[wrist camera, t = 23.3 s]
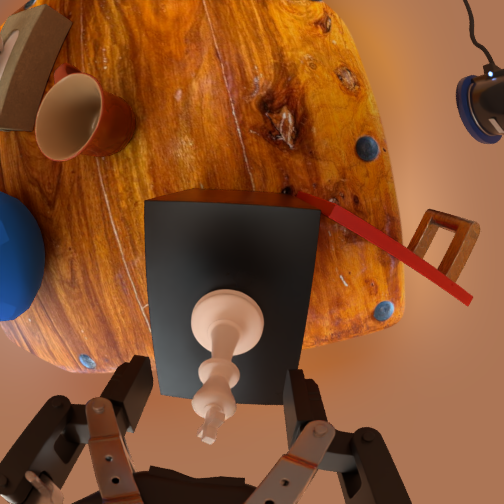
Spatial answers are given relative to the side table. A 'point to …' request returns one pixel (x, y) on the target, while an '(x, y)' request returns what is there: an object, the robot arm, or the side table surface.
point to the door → (415, 242)
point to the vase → (18, 257)
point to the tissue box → (27, 63)
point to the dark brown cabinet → (229, 281)
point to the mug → (81, 118)
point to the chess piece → (222, 352)
